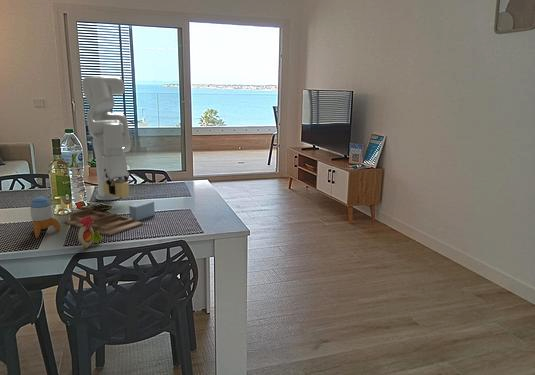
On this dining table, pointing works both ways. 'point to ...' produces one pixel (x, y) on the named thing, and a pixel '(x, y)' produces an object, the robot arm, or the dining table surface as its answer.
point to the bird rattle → (87, 233)
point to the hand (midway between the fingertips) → (116, 192)
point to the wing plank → (142, 210)
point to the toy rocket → (42, 215)
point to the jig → (104, 221)
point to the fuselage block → (118, 188)
